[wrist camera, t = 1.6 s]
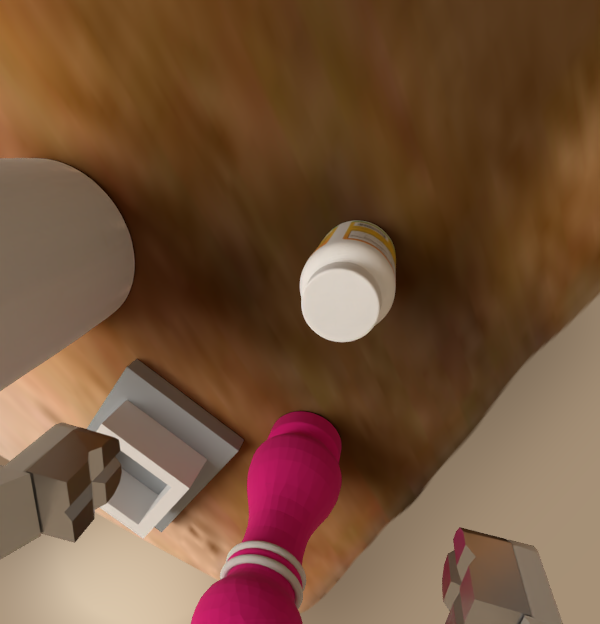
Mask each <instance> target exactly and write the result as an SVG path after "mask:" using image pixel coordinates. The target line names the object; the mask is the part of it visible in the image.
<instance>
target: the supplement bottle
mask: <svg viewBox="0 0 600 624" xmlns="http://www.w3.org/2000/svg"><path fill="white" fill-rule="evenodd" d="M395 289H396V254H395V248H394V245H393V243H392V241H391V239H390V238H389V236H388V235H387V234H386V233H385V232H384V231H383V230H382V229H381V228H380V227H378V226H376V225H375V224H372V223H370V222H366V221H359V220H355V221H348V222H345V223H342V224H340V225H338V226H336V227H335V228H333V229H332V230H331V231H330V232H329V233H328V234H327V235H326V236H325V238H324V239H323V240H322V242H321V243H320V245H319V246H318V247H317V249H316V250H315V251H314V252H313V254H312V255H311V256H310V257H309V259H308V261H307V262H306V264H305V266H304V268H303V271H302V274H301V278H300V294H301V298H302V299H301V308H302V313H303V316H304V318H305V320H306V322H307V324H308V325H309V327H310V328H311V329H312V330H313V331H314V332H315V333H317V334H318V335H320V336H321V337H323V338H325V339H327V340H331V341H335V342H350V341H354V340H357V339H359V338H361V337H363V336H365V335H366V334H367V333H368V332H370V331H371V330H372V328H373V327H374V326H375V325H376V324H378V323H379V322H380V321H381V320H382V319H383V318H384V317H385V316H386V315H387V313H388V312H389V310H390V308H391V306H392V304H393V301H394V297H395Z"/></svg>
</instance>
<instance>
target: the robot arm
mask: <svg viewBox="0 0 600 624" xmlns="http://www.w3.org/2000/svg"><path fill="white" fill-rule="evenodd" d="M119 451H120V443H119V440H118V439H117V438H115V437H112V436H108V435H105V434H101V433H98V432H95V431H91V430H88V429H84V428H81V427H76V426H73V425H69V424H66V423H59V424H56V425H54V426H53V427H52V428H51V429H49V430H48V431H47V432H46V433H44V434H43V435H42V436H41V437H39V438H38V439H37V440H36V441H35V442H33V443H32V444H31V445H30V446H28V447H27V448H26V449H25V450H23V451H22V452H21V453H20V454H18V455H17V456H16V457H15V458H14V459H12V460H11V461H10V462H9V463H7V464H6V465H5V466H2V465H0V559H2V558H4V557H6V556H7V555H9V554H11V553H12V552H14V551H16V550H17V549H19V548H21V547H22V546H24V545H26V544H28V543H29V542H31V541H33V540H34V539H36V538H38V537H40V536H41V534H45V535H49V536H53V537H56V538H60V539H63V540H68V541H71V542H76V541H77V539H78V538H79V537H80V536H81V534H82V533H83V532H84V531H85V530H86V528H87V527H88V526H89V525H90V523H91V522H92V521H93V520H94V514H95V509H97V508H99V507H101V506H103V505H105V504H107V503H108V501H109V500H110V499H111V498H112V496H113V495H114V494H115V491H116V489H117V487H118V485H119V483H120V479H121V474H122V468H121V463H120V462H119V461H118V459H117V458H116V455H117V454H118V453H119ZM453 540H454V549H455V550H454V551H452V552H450V553H448V555H447V558H446V561H445V564H444V571H443V578H442V591H443V602H444V603H445V604H446V606H447V608H448V609H449V611H450V613H449V615H448V618H447V620H446V623H445V624H563V623H562V620H561V617H560V614H559V611H558V608H557V605H556V602H555V600H554V597H553V594H552V591H551V588H550V585H549V582H548V579H547V576H546V573H545V571H544V568H543V565H542V562H541V559H540V556H539V553H538V551H537V549H536V548H535V547H534V546H532V545H528V544H524V543H519V542H516V541H512V540H506V539H504V538H500V537H496V536H492V535H488V534H484V533H480V532H476V531H472V530H468V529H464V528H459V529H458V530H457V531H456V534H455V537H454V539H453Z"/></svg>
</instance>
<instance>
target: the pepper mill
mask: <svg viewBox="0 0 600 624" xmlns="http://www.w3.org/2000/svg"><path fill="white" fill-rule="evenodd" d="M341 448H342V446H341V439H340V436H339V434H338V432H337V430H336V429H335V427H334V426H333V425H332V424H331V423H330V422H329V421H327V420H326V419H324V418H323V417H321V416H319V415H317V414H314V413H311V412H304V411H298V412H291V413H288V414H286V415H284V416H282V417H281V418H279V419H278V420H277V421H276V423H275V424H274V426H273V428H272V430H271V432H270V434H269V437H268V439H267V440H266V441H265V442H264V443H262V444H261V445H260V447H259V448H258V449H257V450H256V452H255V453H254V455H253V458H252V461H251V464H250V467H249V471H248V480H247V494H248V505H249V520H248V527H247V530H246V533H245V536H244V539H243V541H242V542H241V543H240V544H238V545H236V546H235V547H233V548H232V549H231V550H230V552H229V553H228V555H227V558H226V563H225V565H224V566H223V568H222V570H221V573H220V580H219V581H217V582H216V583H214V584H213V585H212V586H211V587H210V588H209V589H208V590H207V591H206V592H205V593H204V595H203V596H202V597H201V599H200V601H199V603H198V605H197V607H196V609H195V612H194V614H193V617H192V621H191V624H302V620H301V616H300V613H299V611H298V608H299V607H300V605H301V603H302V600H303V591H304V589H305V585H306V575H305V572H304V569H303V567H302V559H303V555H304V551H305V548H306V545H307V542H308V540H309V538H310V536H311V535H312V534H313V532H314V531H315V530H316V529H317V527H318V526H319V525H320V524H321V523H322V522H323V521H324V520H325V519H326V518H327V517H328V515H329V514H330V512H331V511H332V509H333V507H334V506H335V504H336V502H337V499H338V495H339V492H340V488H341V483H342V477H341V471H340V467H339V460H340V454H341Z"/></svg>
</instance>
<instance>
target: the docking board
mask: <svg viewBox="0 0 600 624" xmlns="http://www.w3.org/2000/svg"><path fill="white" fill-rule="evenodd" d="M87 429H88V430H91V431H95V432H98V433H101V434H105V435H108V436H112V437H115V438H117V439H118V440H119V443H120V451H119V453H118V454H117V455H116V458H117V459H118V461H119V462H120V463H121V468H122V474H121V479H120V483H119V485H118V487H117V489H116V491H115V494H114V495H113V496H112V498H111V499H110V500H109V501H108V503H107V504H105V505H103V506H101V507H100V508H101V509H102V510H104V511H105V512H107V513H108V514H109V515H111V516H112V517H114V518H115V519H116V520H118V521H119V522H121V523H122V524H123V525H125V526H126V527H127V528H129V529H130V530H132V531H133V532H134V533H136V534H137V535H139V536H140V537H141V538H143V539H144V538H145V536H146V535H147V534H148V533H149V532H150V531H151V530H152V529H153V528H154V527H155V528H156V529H158V530H159V531H160V532H162V531H163V530H164V529H165V528H166V527H167V526H168V525H169V524H170V523H171V522H172V521H173V520H174V519H175V518H176V516H177V515H178V514H179V513H180V512H181V511H182V510H183V509H184V508H185V507H186V506H187V505H188V504H189V503H190V502H191V501H192V500H193V498H194V497H195V496H196V495H197V494H198V493H199V492H200V491H201V490H202V489H203V488H204V487H205V486H206V485H207V484H208V483H209V482H210V481H211V479H212V478H213V477H214V476H215V475H216V474H217V473H218V472H219V471H220V470H221V469H222V468H223V467H224V466H225V465H226V464H227V463H228V461H229V460H230V459H231V458H232V457H233V456H234V455H235V454H236V453H237V452H238V451H239V449H240V447H241V445H242V443H243V441H244V439H242V438H241V437H240V436H239V435H237V434H236V433H235V432H233V431H232V430H231V429H229V428H228V427H227V426H225V425H224V424H223V423H221V422H220V421H219V420H217V419H216V418H215V417H213V416H212V415H211V414H209V413H208V412H207V411H205V410H204V409H203V408H201V407H200V406H199V405H197V404H196V403H195V402H193V401H192V400H191V399H190V398H188V397H187V396H186V395H184V394H183V393H182V392H180V391H179V390H178V389H176V388H175V387H174V386H172V385H171V384H170V383H168V382H167V381H166V380H164V379H163V378H162V377H160V376H159V375H158V374H156V373H155V372H154V371H152V370H151V369H150V368H148V367H147V366H146V365H144V364H143V363H142V362H141V361H139V360H138V359H136V360H135V361H133V362H132V363H131V364H130V365H129V366H127V367H126V369H125V371H124V372H123V374H122V375H121V377H120V378H119V380H118V381H117V383H116V384H115V386H114V388H113V389H112V391H111V392H110V394H109V395H108V397H107V398H106V400H105V402H104V403H103V405H102V406H101V408H100V409H99V411H98V412H97V414H96V415H95V417H94V419H93V420H92V422H91V423H90V425H89V426H88V428H87Z"/></svg>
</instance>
